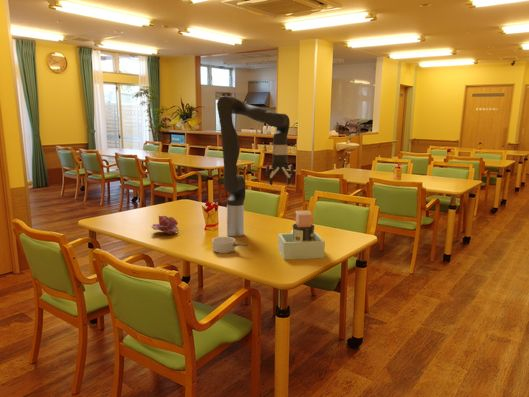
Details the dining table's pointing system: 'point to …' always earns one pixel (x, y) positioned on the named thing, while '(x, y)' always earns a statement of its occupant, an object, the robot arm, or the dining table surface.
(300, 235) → the coffee can
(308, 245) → the tote
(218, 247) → the saucepan
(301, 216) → the pink block
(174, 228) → the flower
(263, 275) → the dining table surface
